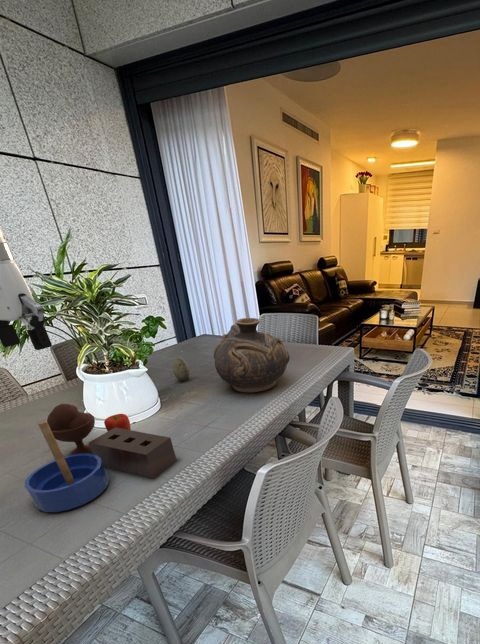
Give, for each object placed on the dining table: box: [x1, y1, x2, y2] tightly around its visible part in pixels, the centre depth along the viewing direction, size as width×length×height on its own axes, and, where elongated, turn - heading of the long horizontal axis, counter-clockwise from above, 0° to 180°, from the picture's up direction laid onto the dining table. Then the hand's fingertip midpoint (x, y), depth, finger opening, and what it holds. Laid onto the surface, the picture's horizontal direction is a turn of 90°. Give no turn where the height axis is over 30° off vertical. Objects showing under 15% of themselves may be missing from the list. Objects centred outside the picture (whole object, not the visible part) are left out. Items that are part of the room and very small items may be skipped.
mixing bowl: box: [24, 453, 110, 513], centre depth 80 cm, size 15×15×6 cm
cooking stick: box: [37, 419, 75, 485], centre depth 77 cm, size 2×2×18 cm
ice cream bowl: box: [46, 403, 96, 455], centre depth 94 cm, size 11×11×15 cm
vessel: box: [213, 317, 291, 393], centre depth 131 cm, size 27×28×25 cm
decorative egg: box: [172, 356, 191, 382], centre depth 141 cm, size 6×6×10 cm
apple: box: [103, 413, 132, 432], centre depth 101 cm, size 6×6×8 cm
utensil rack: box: [88, 427, 177, 479], centre depth 90 cm, size 19×8×7 cm, turn 70°
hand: (27, 346), depth 73 cm, fingers open, 9 cm apart
